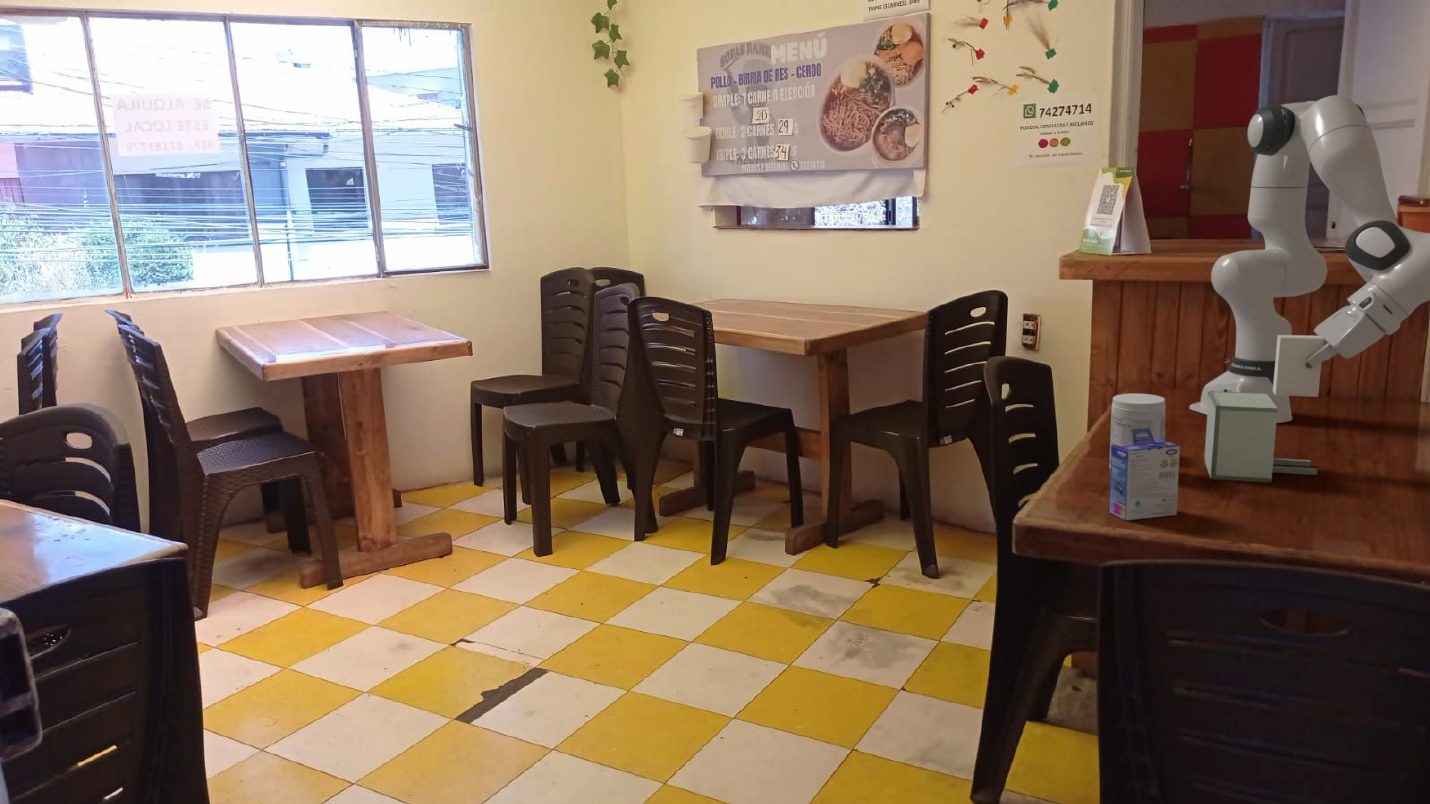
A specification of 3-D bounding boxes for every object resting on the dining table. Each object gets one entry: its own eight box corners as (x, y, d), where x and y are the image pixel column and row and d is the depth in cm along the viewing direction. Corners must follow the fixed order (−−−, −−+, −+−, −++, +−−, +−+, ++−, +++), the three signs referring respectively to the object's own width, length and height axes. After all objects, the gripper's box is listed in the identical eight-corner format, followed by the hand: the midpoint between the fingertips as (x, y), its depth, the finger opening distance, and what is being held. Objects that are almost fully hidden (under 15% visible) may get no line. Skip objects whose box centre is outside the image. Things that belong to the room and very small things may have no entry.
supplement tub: (1133, 463, 197) (1137, 390, 194) (1173, 474, 188) (1178, 399, 185) (1097, 470, 193) (1101, 396, 190) (1137, 482, 184) (1141, 405, 181)
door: (1314, 393, 187) (1320, 335, 185) (1318, 397, 183) (1324, 339, 181) (1272, 391, 189) (1277, 334, 187) (1275, 395, 186) (1281, 338, 183)
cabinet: (1309, 464, 191) (1316, 394, 188) (1324, 486, 178) (1332, 410, 175) (1203, 458, 198) (1208, 390, 195) (1210, 478, 184) (1216, 405, 182)
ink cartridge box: (1157, 506, 170) (1162, 424, 167) (1178, 516, 165) (1184, 432, 162) (1106, 511, 168) (1110, 429, 165) (1125, 521, 163) (1130, 436, 160)
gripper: (1348, 291, 189) (1285, 340, 194) (1374, 304, 170) (1304, 358, 176) (1372, 314, 188) (1309, 363, 194) (1401, 330, 169) (1330, 383, 175)
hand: (1306, 361), depth 184 cm, fingers closed on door, 4 cm apart
